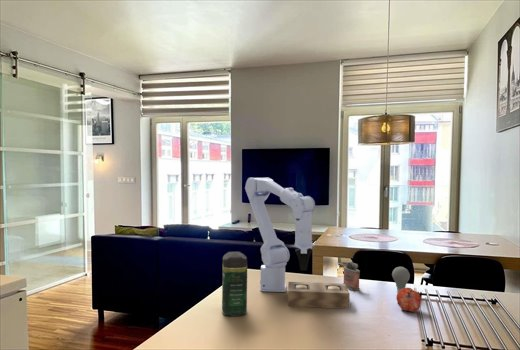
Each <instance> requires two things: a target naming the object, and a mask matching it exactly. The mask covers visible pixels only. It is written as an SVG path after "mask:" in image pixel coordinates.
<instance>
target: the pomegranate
mask: <svg viewBox="0 0 520 350" xmlns="http://www.w3.org/2000/svg"><path fill="white" fill-rule="evenodd" d="M396 293H397V292H396ZM396 301H397V305H398V307H399V308H400V309H402V310H403V311H405V312H412V313H413V312H414V313H415V312H417V311H418V310H419V309H420V308H421V306H422V297H421V294H420V293H419V292H418V291H415V290H414V289H413V288H411V287H405V288H403V289H402V290H400V291H399V292H398V293H397V294H396Z"/></svg>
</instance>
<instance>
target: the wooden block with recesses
mask: <svg viewBox="0 0 520 350" xmlns="http://www.w3.org/2000/svg"><path fill="white" fill-rule="evenodd" d="M287 283H288V285H287V286H288V288H287V306H288V307H300V308H301V307H304V308H323V309H325V308H326V309H327V308H329V309H350V294H351V293H350V290H349V289H347V287H346V285H345V284H343V283H336V282H332V283H331V282H306V281H303V282H302V281H288V282H287ZM297 285H305V286H307V289H296V286H297ZM329 286H337V287H339V288H340V290H328V287H329Z"/></svg>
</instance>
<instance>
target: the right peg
mask: <svg viewBox="0 0 520 350" xmlns="http://www.w3.org/2000/svg"><path fill="white" fill-rule="evenodd" d="M328 290H340V288H339V287H337V286H329V287H328Z"/></svg>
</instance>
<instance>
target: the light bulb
mask: <svg viewBox="0 0 520 350" xmlns="http://www.w3.org/2000/svg"><path fill="white" fill-rule="evenodd" d="M391 276H392V278H393V281H394V282H395V286H396V287H395V288H396V293H398V292H399V291H400V290H402V289H403V288H407V283H408V282H409V280H410V277H411V274H410V272H409V270H408V269H407V268H405V267H404V266H397V267H395V268H394V269H393V270H392V273H391Z"/></svg>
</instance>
